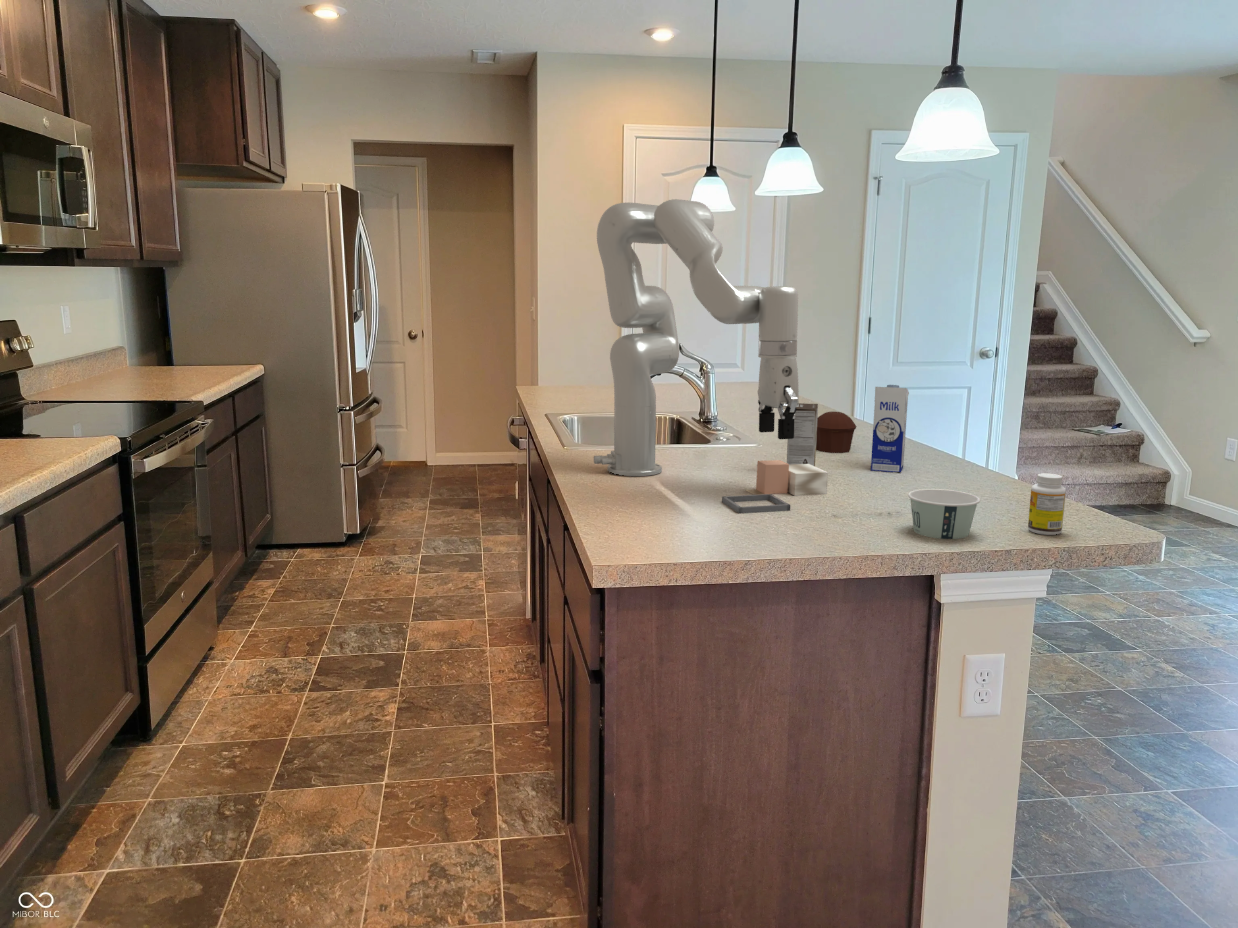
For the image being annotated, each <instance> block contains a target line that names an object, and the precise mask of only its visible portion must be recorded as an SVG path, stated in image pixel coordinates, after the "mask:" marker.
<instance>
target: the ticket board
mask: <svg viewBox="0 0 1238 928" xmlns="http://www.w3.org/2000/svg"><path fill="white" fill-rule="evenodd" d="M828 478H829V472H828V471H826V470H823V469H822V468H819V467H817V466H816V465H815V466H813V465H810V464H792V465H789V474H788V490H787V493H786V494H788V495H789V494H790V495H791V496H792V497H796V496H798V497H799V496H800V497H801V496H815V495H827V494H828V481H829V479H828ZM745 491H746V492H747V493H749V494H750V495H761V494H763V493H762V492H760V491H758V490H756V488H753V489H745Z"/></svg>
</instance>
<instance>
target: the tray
mask: <svg viewBox="0 0 1238 928" xmlns="http://www.w3.org/2000/svg"><path fill="white" fill-rule="evenodd" d="M761 501H762V502H763V501H770V502H772V503H773V504H767V505H748V506H741V505H739V504H737V503H743V502H761ZM721 502H722V503H723V504H724V505H725V506H727V507H729V508H730V509H732V510H733V511H734V512H736V513H737V514H752V513H755V514H756V513H757V514H758V513H771V512H772V513H773V512H774V513H775V512H789V511H791V504H789V503H788V502H786V501H784V500H783V499H781V498H779V497H777V496H776V495H775V494H761V495H752V494H746V495H745V494H743V495H728V496H727V495H726V496H721Z"/></svg>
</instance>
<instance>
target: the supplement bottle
mask: <svg viewBox="0 0 1238 928" xmlns="http://www.w3.org/2000/svg"><path fill="white" fill-rule="evenodd" d="M1062 484H1063V476H1062V475H1059V474H1055V473H1049V472H1047V473H1046V472H1041V473H1038V474H1037V477H1036V483H1035V484H1033V485H1032V486H1031V489H1030V499H1029V509H1028V510H1029V512H1028V521H1027V528H1028V530H1029V531H1030V532H1032V533H1034V534H1038V535H1043V536H1056V534H1057V535H1060V534H1061V533H1062V531H1063V525H1064V516H1065V505H1066V495H1067V489H1066V488H1065V487H1064V486H1063V485H1062Z"/></svg>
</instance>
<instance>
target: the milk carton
mask: <svg viewBox="0 0 1238 928" xmlns="http://www.w3.org/2000/svg"><path fill="white" fill-rule="evenodd" d="M874 389H875V390H874V407H873V408H874V409H873V425H872V428H873V429H872V440H871V441H872V443H871V459H870V460H871V461H870V472H880V471H881V473H893V472H901V473H902V471H903V469H904V461H905V447H906V446H905V445H906V430H907V417H908V416H907V415H908V404H909V403H908V402H909V401H908V400H909V395H910V392H909V389H908V388H907V387H900V385H897V384H887V385H886V386H875V387H874Z"/></svg>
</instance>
